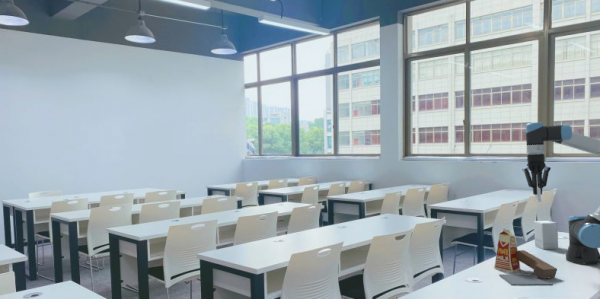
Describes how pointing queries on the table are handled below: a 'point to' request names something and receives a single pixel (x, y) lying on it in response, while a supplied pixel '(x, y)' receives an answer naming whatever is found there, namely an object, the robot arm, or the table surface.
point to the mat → (524, 279)
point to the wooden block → (536, 265)
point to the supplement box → (546, 234)
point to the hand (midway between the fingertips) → (538, 201)
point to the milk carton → (507, 253)
